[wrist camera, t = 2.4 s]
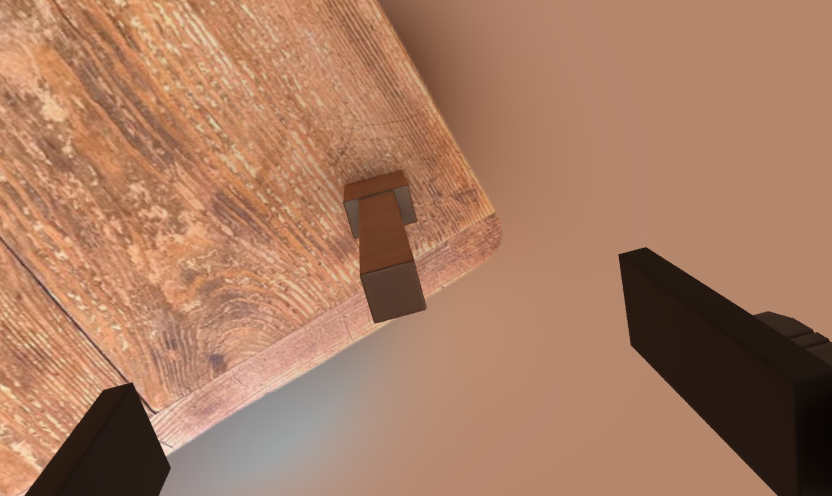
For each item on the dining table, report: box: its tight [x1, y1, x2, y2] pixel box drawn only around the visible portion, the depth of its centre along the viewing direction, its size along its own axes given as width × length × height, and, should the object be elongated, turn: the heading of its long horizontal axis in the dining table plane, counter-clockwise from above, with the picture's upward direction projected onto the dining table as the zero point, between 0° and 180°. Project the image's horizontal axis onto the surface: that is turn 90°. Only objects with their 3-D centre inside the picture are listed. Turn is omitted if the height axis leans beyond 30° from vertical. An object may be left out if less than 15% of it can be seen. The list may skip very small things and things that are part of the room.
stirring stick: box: [343, 170, 426, 323], centre depth 32 cm, size 4×2×18 cm, turn 104°
